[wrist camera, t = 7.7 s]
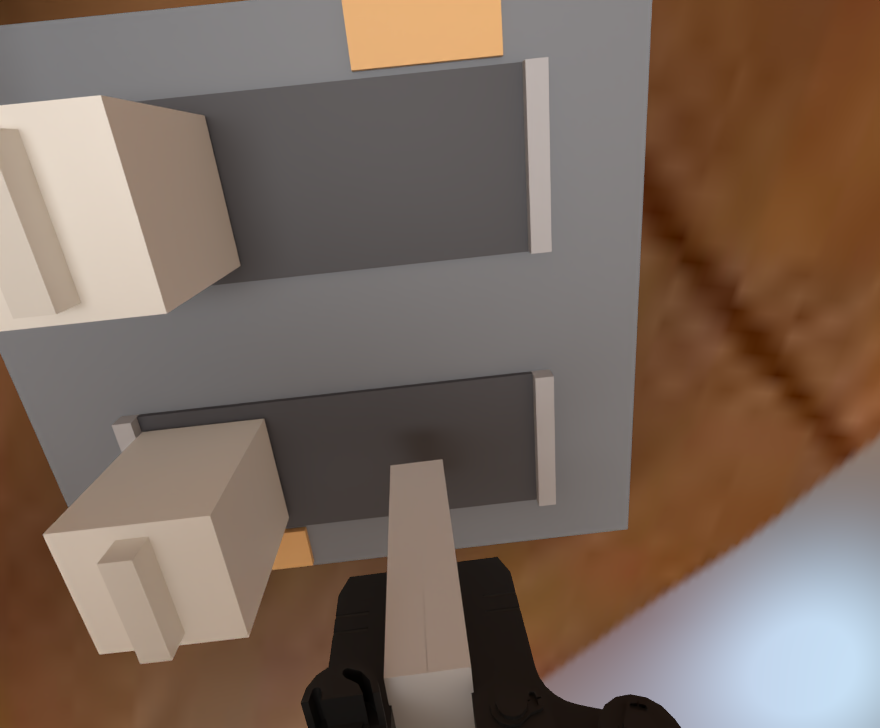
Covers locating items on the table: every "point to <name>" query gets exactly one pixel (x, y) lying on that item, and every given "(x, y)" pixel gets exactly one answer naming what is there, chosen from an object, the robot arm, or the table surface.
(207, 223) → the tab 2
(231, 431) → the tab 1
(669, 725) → the robot arm
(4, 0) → the table surface
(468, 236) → the switch board
